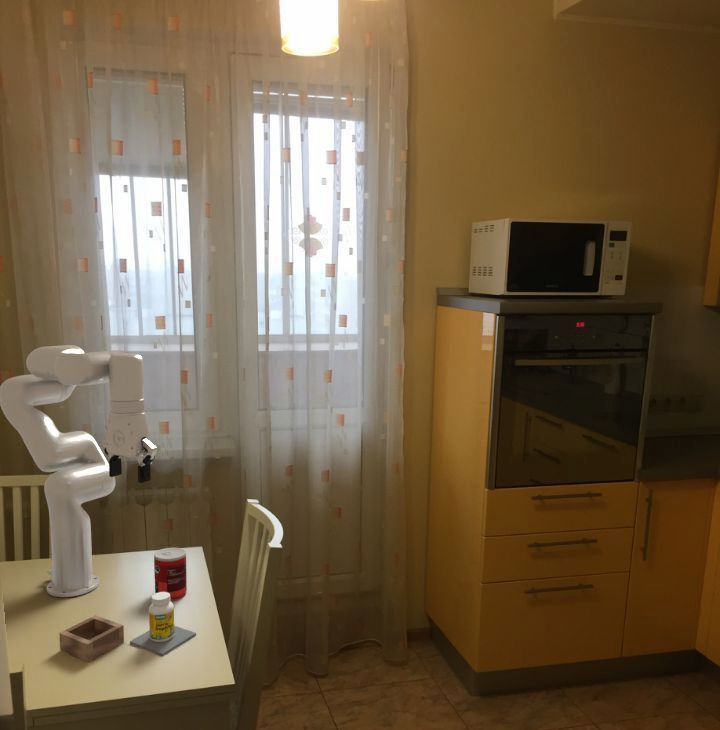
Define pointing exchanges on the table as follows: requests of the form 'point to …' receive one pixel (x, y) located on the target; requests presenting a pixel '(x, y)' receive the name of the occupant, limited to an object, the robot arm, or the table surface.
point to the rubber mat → (163, 647)
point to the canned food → (170, 572)
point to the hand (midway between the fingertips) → (129, 478)
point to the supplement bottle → (161, 617)
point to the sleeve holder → (88, 650)
